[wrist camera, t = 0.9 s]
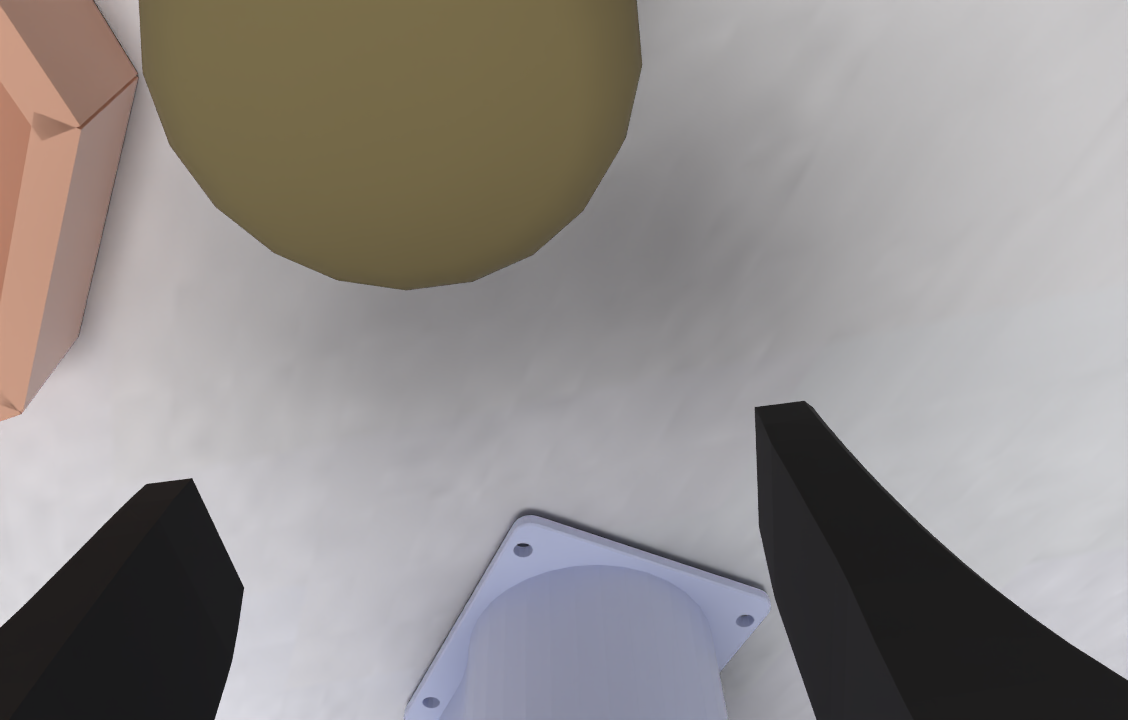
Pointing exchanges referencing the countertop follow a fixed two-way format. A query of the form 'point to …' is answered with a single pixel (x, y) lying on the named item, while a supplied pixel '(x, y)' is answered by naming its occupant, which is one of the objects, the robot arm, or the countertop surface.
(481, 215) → the olive knobbed peg
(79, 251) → the octagonal tray
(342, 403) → the countertop surface
